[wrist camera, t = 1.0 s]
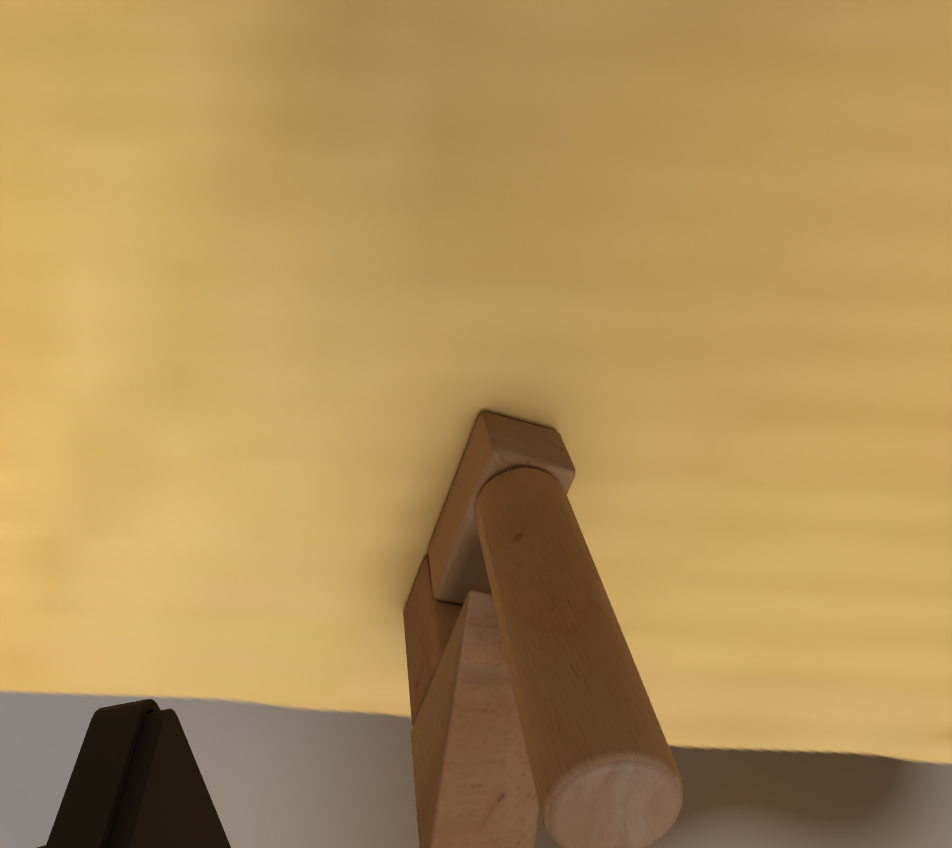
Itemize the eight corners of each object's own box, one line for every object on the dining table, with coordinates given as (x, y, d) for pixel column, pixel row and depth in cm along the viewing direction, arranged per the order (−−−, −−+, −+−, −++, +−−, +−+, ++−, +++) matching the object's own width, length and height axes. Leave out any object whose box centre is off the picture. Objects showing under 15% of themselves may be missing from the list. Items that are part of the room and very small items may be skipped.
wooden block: (400, 614, 41) (430, 1027, 25) (478, 406, 37) (575, 742, 21) (476, 629, 42) (552, 1037, 26) (561, 428, 38) (715, 767, 22)
